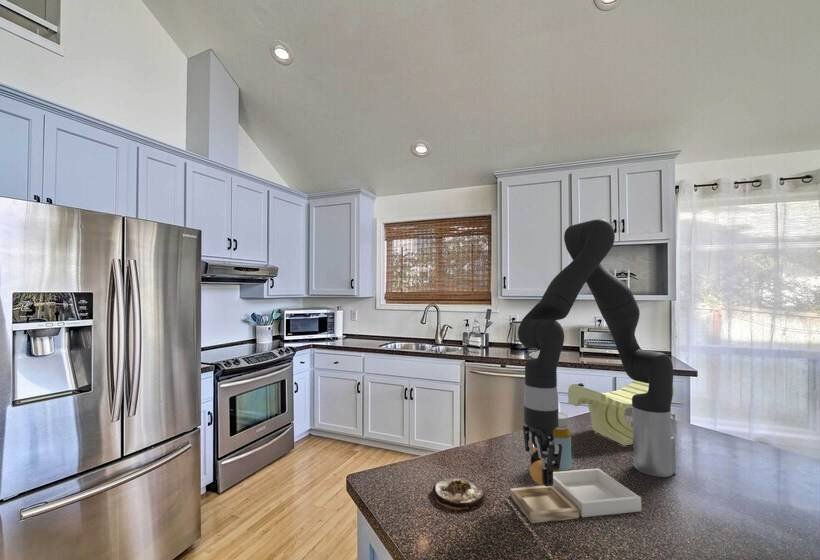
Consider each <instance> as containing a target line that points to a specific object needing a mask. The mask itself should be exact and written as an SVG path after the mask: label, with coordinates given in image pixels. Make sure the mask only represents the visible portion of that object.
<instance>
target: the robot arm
mask: <svg viewBox="0 0 820 560" xmlns="http://www.w3.org/2000/svg"><path fill="white" fill-rule="evenodd" d="M563 237H564V238H563V239H564V241H563V242H564V244H565V245H564V246H565V248H566V250H567V252H568V254H569V256H570V257H571V259H572V261H571V262H570V263H569V264H568V265H567V266H565V267H564V268H563V269H562V270H561V271H560V272H559V273H558V274H556V276H554V278H553V279H552V281H551V282H550V283H549V284H548V286H547V288H546V290H545V292H544V293H543V296H542V297H541V299H540V301H539V302H538V303H536V305H534V307H532V308H531V310H530V311H528V313H527V314H526V315H524V317H523V318H522V320H521V321H520V323H519V325H518V328H517V337H518V340H519V343H520V344H521V345H523V346H524V347H528V348H532V349H539V352H538V355H537V357H536V358H535V357H534V358H528V359H527V360H526V361H525V365H524V390H523V420H524V421H523V422H524V425H523V426H522V431H523V439H524V449H525V452H528V456H529V458H530V466H531V465H532V464H533V463H534V462H535V461H538V460H541V461H542V467H543V468H542V483H543V485H542V486H552V485H553V472H554V471H553V470H558V469H559V468H560V461H561V454H562V445H561V444H556V443H555V441H554V435H553V430H554V429H556V428H557V427H558V412H559V394H558V382H557V381H558V378H557V377H558V376H557V373H558V372H557V371H558V365H559V362H560V358H561V354H562V350H563V346H564V343H565V332H564V328H563V326H562V325H561V323H559V320H563V319H565V318H567V316H568V315H569V313H570V311H571V309H572V308H573V306H574V303H575V302H576V299H577V298H578V296H579V294H580V292H581V290H582V289H583V287H584V285H585V284H586V285H587V287H588V288H589V290H590V292H591V295H592V296H593V299H594V300H595V304H596V305H597V308H598V310H599V313H600V314H601V316H602V318H603V320H604V321H605V324H606V326H607V327H608V330H609V332H610V334H611V337H612V339H613V341H614V344H615V347H616V350H617V352H618V355H619V358H620V362H621V364H622V367H623V369H624V371H625V373H626V375H627V376H628V378H629V379H631V380H633V381H639V382H643V383H648V384H649V389H648V392H647V393H643V394H636V395H634V396H633V397H632V408H631V414H632V415H631V416H632V427H633V445H632V449H633V452H632V453H633V467H634V469H636V471H638V470H639V472H640V473H643V474H645V475H648V476H652V477H658V478H669V477H672V476H673V474H677V467H676V466H677V465H676V463H677V460H676V439H675V437H673V436H672V413H671V412H672V411H671V408H672V402H673V387H674V365H673V361H672V359H671V357H670V356H669V355H668V354H666V353H665V352H660V351H651V350H646V349H642V348H641V347H640V345H639V342H638V341H637V338H636V335H635V334H636V328H637V326H638V323H639V320H640V311H641V310H640V308H639V306H638V303H637V301H636V298H635V296H634V294H633V292H632V291H631V289H630V287H629V286H628V285H627V284H625V283H624V282H623V281H622V280H621V279H619V278H618V277H617V276H615V275H614V274H613V273H611V272H610V271H609V270H607V268H605V266H604V265H603V264H602V263H601V262H602V261H603V260H604V259H605V258H606V256H607V255H608V253H610V251H611V250H612V248H613V246H614V243H615V241H616V240H615V239H616V235H615V229H614V228H613V225H612V224H611V223H610V221H608V220H607V219H604V218H597V219H596V218H595V219H592V220H587V221H584V222H579V223H576V224H573V225H570V226H568V227H567V228H566V230H565V231H564V235H563ZM546 451H548V453H547V454H544V452H546ZM546 457H547V463H546ZM554 461H555V463H554Z"/></svg>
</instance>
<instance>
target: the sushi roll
mask: <svg viewBox="0 0 820 560" xmlns="http://www.w3.org/2000/svg"><path fill="white" fill-rule="evenodd" d="M484 491H485V490H484V489H483V487H482V485H481V484H479V483H478V482H477V481H476V480H474V481H472V480H470V479H469V478H468V477H460V476H459V477H457V476H455V477H449V478H445V479H441V480H439V481H437V482H435V484H434V485H433V488H432V493H433V496H434V501H435V502H436V503H437V504H438V505H439V507H442V508H444V509H447V508H448V509H447V510H450V509H451V511H460V510H461V512H466V511H468V512H470V510H474V509H479V510H482V509H481V508H482V506H483V505H484V504H485V501H486V493H485V492H484Z"/></svg>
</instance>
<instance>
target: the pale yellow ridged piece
mask: <svg viewBox="0 0 820 560" xmlns="http://www.w3.org/2000/svg"><path fill="white" fill-rule="evenodd" d="M674 388H675V387H674V386H673V396H675V390H674ZM567 389H568V390H567V394H568V395H567V397H568V398H567V399H568V402H567V403H568V404H570V405H572V406H574V407H579V406H581V405H587V407H588V410H589V414H590V419H591V421H590V423H591V427H592V431H593V430H594V431H596V432H598V433H600V434H602V435H605V436H607V437H609V438H611V439H613V440H615V441H617V442H619V443H621V444H623V445H629V444H633V425H630V423H628V422H627V421H626V418H625V413H626V410H627V409H632V397H633V396H634V395H636V394H643V393H647V392H648V389H649V384H648V383H643V382H639V381H635V380H633V381H632V383H628V384H626V385H625V386H623V387H620V388H619V389H617V390H613V391H607V392H599V391H596V390H593V389H590V388H587V387H584V386H581V385H577V384H575V383H572V384H570V385H569V387H568V388H567ZM594 431H593V432H594Z"/></svg>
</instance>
